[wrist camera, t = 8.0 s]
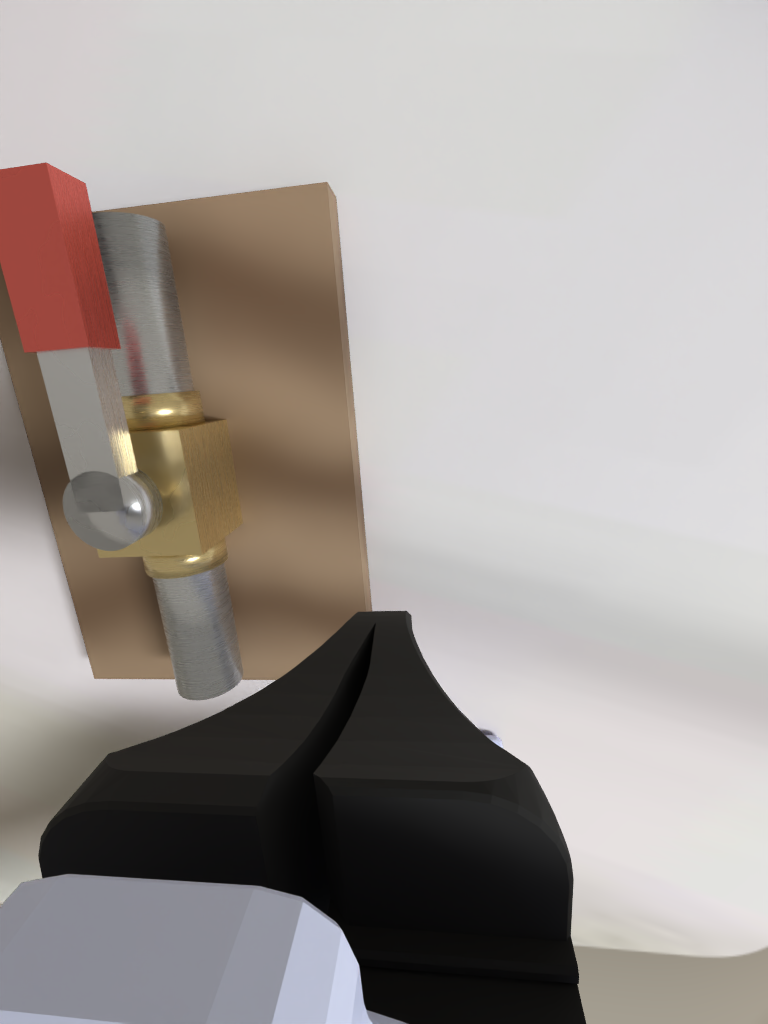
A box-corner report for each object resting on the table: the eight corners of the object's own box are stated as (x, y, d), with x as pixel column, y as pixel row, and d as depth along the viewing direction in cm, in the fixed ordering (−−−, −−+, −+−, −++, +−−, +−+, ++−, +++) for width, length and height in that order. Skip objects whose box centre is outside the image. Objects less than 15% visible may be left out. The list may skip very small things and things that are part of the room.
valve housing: (266, 658, 23) (232, 715, 19) (187, 658, 23) (138, 714, 19) (198, 232, 18) (134, 194, 14) (99, 243, 18) (11, 210, 14)
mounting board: (376, 661, 23) (372, 680, 22) (114, 661, 25) (94, 678, 24) (336, 197, 18) (327, 182, 16) (3, 238, 20) (-31, 227, 18)
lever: (173, 534, 16) (145, 552, 15) (103, 537, 17) (69, 554, 15) (100, 185, 14) (56, 161, 12) (18, 196, 14) (-35, 174, 12)
